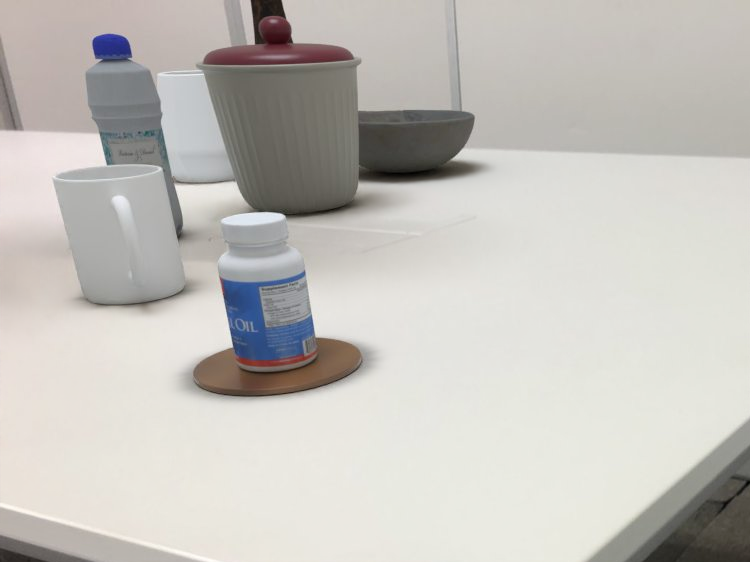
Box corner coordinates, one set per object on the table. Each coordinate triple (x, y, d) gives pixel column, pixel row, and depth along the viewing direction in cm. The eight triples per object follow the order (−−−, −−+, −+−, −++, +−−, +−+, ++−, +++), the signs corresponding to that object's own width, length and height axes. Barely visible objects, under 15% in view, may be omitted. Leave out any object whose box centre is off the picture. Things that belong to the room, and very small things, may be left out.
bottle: (119, 247, 104) (69, 35, 95) (120, 235, 110) (73, 33, 101) (189, 240, 107) (146, 33, 98) (187, 228, 112) (146, 31, 103)
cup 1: (179, 275, 93) (154, 161, 89) (203, 305, 84) (177, 179, 79) (79, 288, 89) (48, 170, 85) (93, 322, 80) (59, 191, 76)
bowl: (303, 172, 147) (294, 114, 144) (428, 156, 160) (422, 102, 156) (376, 189, 133) (368, 125, 129) (506, 171, 145) (502, 112, 142)
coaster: (179, 402, 64) (177, 396, 64) (209, 348, 74) (208, 343, 73) (358, 387, 66) (357, 381, 66) (364, 337, 76) (364, 332, 75)
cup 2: (278, 170, 149) (261, 68, 143) (229, 186, 137) (209, 75, 131) (195, 169, 151) (175, 68, 145) (140, 184, 139) (116, 76, 133)
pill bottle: (223, 361, 70) (194, 217, 66) (296, 343, 73) (273, 206, 69) (257, 380, 66) (228, 230, 62) (333, 361, 69) (310, 217, 65)
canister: (221, 200, 127) (186, 16, 118) (367, 189, 133) (345, 13, 124) (226, 227, 112) (186, 19, 103) (390, 213, 118) (366, 15, 109)
